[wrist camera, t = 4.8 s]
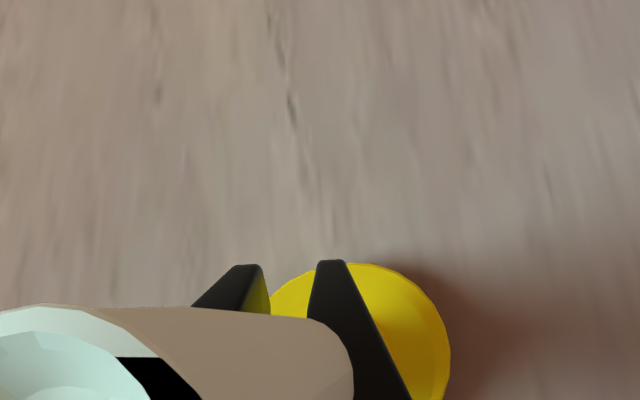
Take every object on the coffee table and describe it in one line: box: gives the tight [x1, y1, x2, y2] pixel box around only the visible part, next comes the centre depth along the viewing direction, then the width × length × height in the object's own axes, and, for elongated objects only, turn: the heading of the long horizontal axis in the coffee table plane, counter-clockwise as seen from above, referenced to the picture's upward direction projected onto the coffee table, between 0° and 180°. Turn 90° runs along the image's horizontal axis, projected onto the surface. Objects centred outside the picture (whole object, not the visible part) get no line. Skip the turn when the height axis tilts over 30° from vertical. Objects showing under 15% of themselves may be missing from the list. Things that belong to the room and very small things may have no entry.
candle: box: [0, 263, 451, 400], centre depth 9 cm, size 5×5×16 cm
